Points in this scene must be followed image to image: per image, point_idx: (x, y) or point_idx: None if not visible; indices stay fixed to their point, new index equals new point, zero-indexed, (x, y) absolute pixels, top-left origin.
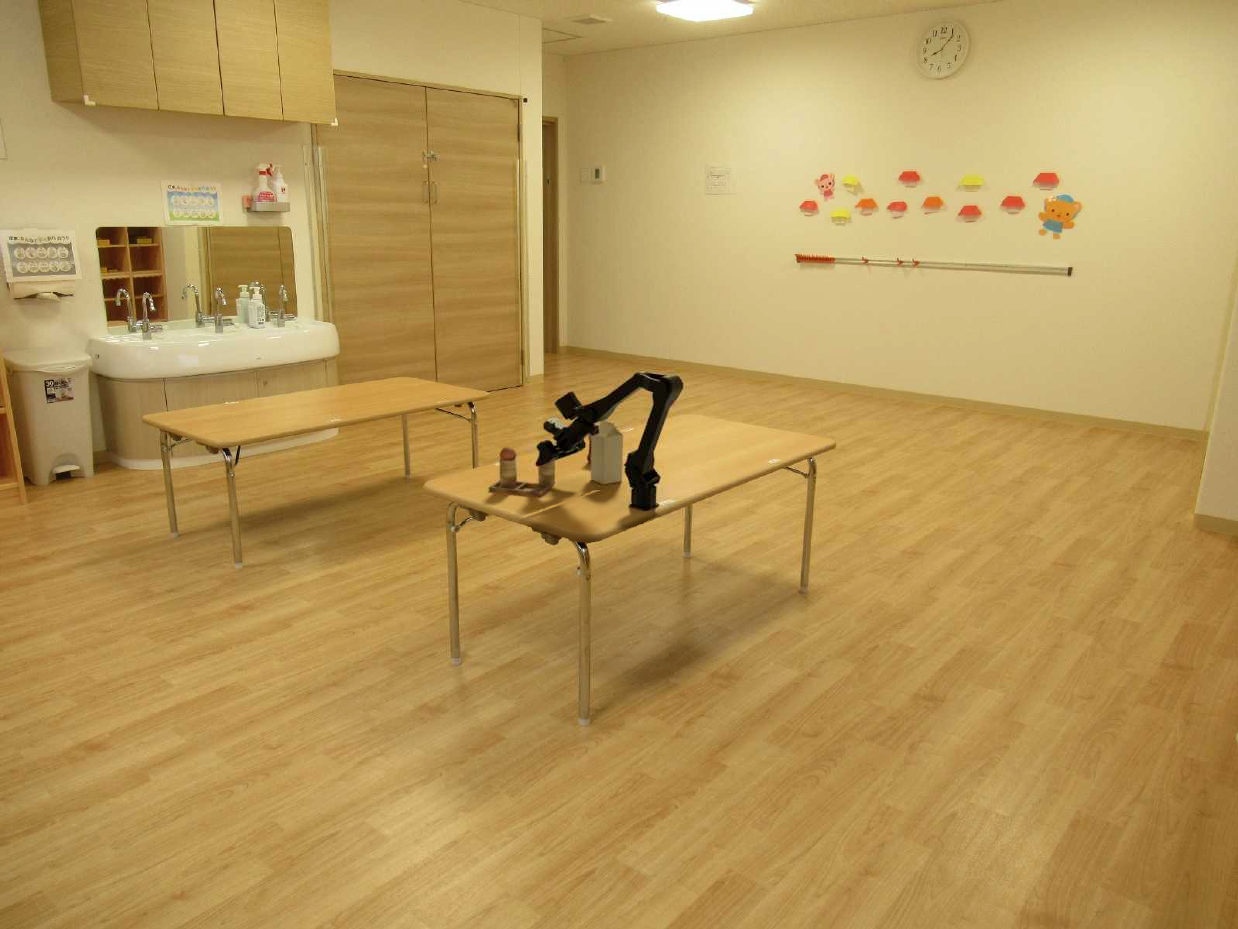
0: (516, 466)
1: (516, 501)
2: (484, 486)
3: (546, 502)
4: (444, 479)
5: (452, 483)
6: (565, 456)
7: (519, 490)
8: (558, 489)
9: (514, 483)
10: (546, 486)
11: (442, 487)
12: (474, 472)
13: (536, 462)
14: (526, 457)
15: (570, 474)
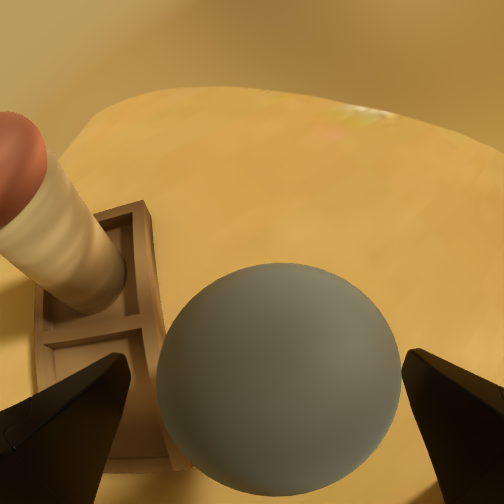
0: (36, 258)
1: (16, 380)
2: (123, 183)
3: None
4: (151, 95)
5: (124, 119)
6: (437, 476)
7: (35, 361)
8: None
9: (67, 302)
10: (169, 447)
11: (86, 128)
12: (248, 97)
13: (94, 367)
14: (449, 132)
15: (473, 338)
